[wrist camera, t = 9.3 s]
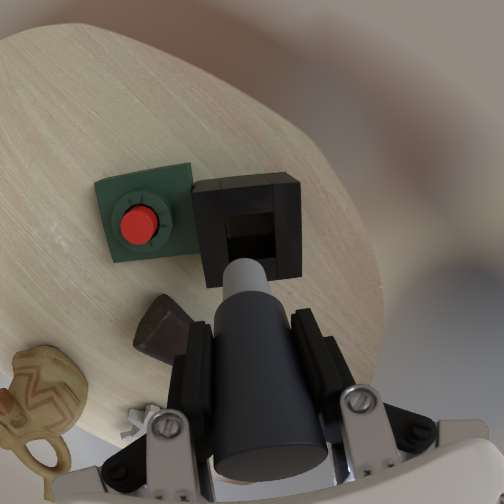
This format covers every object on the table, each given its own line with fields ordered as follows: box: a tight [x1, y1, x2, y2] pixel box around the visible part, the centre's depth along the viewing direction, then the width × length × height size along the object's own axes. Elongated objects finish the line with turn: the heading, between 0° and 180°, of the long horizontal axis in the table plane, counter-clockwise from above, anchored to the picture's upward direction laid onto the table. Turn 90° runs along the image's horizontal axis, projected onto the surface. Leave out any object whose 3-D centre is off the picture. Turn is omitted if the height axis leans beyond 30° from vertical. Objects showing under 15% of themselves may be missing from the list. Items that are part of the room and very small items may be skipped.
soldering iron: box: [213, 258, 328, 482], centre depth 11 cm, size 3×3×11 cm
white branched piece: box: [120, 404, 163, 442], centre depth 41 cm, size 10×5×15 cm
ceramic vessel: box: [0, 346, 88, 503], centre depth 26 cm, size 17×20×25 cm
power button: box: [121, 206, 157, 244], centre depth 24 cm, size 3×3×2 cm
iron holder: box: [191, 172, 302, 288], centre depth 27 cm, size 9×9×6 cm
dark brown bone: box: [133, 294, 194, 366], centre depth 34 cm, size 11×10×28 cm
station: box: [94, 163, 200, 263], centre depth 26 cm, size 10×9×4 cm
